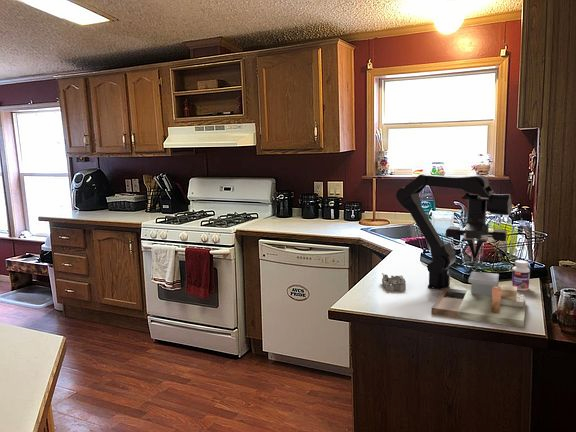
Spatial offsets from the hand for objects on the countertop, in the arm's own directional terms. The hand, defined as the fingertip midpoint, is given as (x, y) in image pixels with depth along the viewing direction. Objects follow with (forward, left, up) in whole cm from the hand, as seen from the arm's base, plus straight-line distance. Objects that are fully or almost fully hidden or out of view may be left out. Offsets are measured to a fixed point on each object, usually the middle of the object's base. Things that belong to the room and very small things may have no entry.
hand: (474, 258), depth 157 cm
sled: (+11, -16, -10) cm, 22 cm away
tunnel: (+4, -11, -10) cm, 15 cm away
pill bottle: (+14, +11, -12) cm, 22 cm away
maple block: (+11, -11, -10) cm, 19 cm away
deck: (+4, -15, -12) cm, 20 cm away
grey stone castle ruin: (-26, -4, -12) cm, 30 cm away
